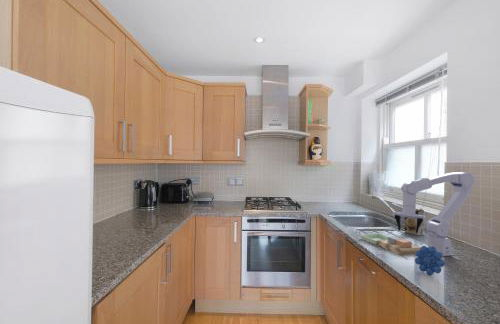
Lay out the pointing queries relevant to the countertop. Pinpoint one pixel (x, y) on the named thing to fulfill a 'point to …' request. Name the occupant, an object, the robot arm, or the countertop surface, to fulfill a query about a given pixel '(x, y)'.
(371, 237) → the tray
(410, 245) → the terracotta tile
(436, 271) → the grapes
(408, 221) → the coffee box
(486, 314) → the countertop surface
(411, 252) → the birch board
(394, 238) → the slate tile
